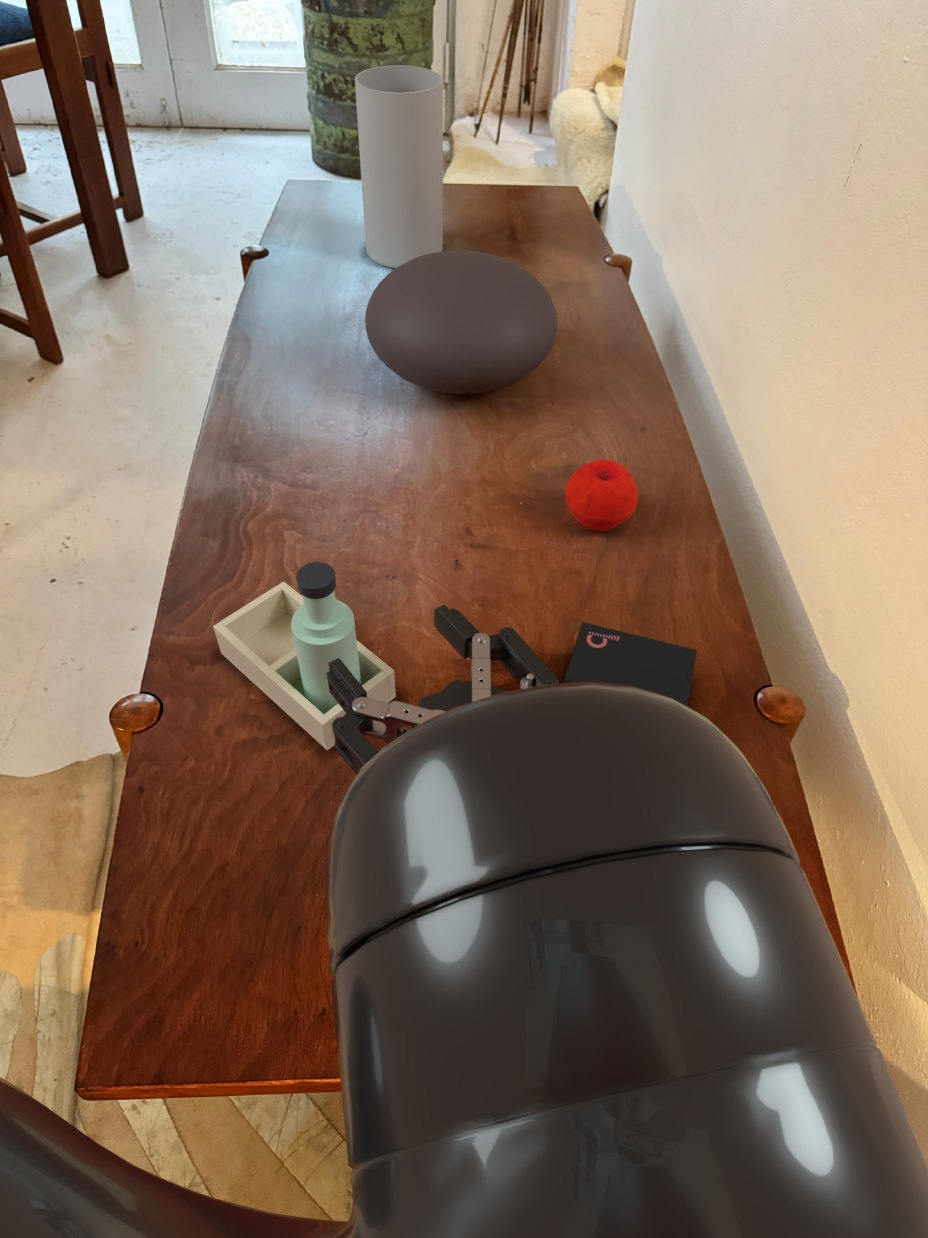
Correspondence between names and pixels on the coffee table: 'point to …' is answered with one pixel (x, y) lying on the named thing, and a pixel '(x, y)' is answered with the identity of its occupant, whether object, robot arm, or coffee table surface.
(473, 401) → the coffee table surface
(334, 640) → the bottle
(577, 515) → the apple
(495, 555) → the coffee table surface
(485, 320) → the flattened ellipsoid
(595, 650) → the electronic device
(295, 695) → the cream rectangular tray
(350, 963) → the robot arm
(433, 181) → the cylinder vase
